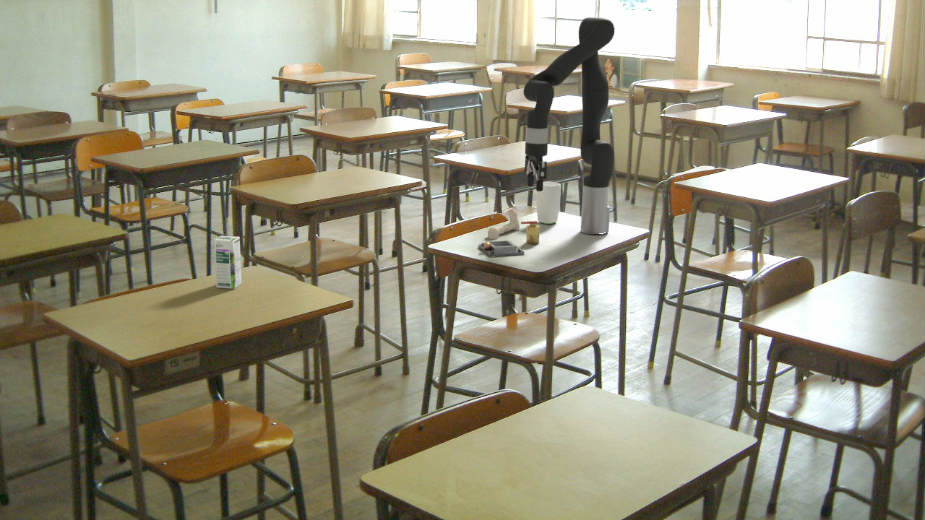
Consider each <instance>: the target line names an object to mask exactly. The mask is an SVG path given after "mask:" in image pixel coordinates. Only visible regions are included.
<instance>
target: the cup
mask: <svg viewBox="0 0 925 520" xmlns="http://www.w3.org/2000/svg"><path fill="white" fill-rule="evenodd" d="M561 191H562V184H561V183H558V182H554V181H548V180H547V181H543V191H536V214H537V222H539V223H541V224H543V225H551V224H556V223H557V222H558V218H559V212H560V205H561V193H562V192H561Z"/></svg>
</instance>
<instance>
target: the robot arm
mask: <svg viewBox="0 0 925 520" xmlns="http://www.w3.org/2000/svg"><path fill="white" fill-rule="evenodd" d="M578 27H579V28H578V44H577V45H575V46H574V47H572V48H570V49H568V50H566V51H564V52H563V53H561V54H560V55H558V56H557V58H555V59H554V60H553V61H552V62H551V63H550V64H549V65H548V66H547V68H546V69H544V70H542V71H540V72H539V73H537V74H536V75H534V76H533V77H532V78H530V79H529V80H528V81H527V82H526V83H525V85H524V87H523V97H524V98H525V99H526V100H527V101H529V102H535V106H534V108H532V109H530V110H528V111H527V115H526V116H527V117H526V130H525V143H524V155H525V156H524V158H525V159H524V172H525V174H526V177H527V178H526V186H527V187H533V186H534V185H535V191H536V192H537V191H543V182H544V181H545V180H546V179H547V169H548V163H547V161H545V160H543V159H544V157H546V156H547V155H548V149H549V143H548V142H549V131H548V130H549V129H548V127H549V126H548V125H549V114H550V112H551V108H552V105H553V101H554V98H555V97H554V96H555V91H554V87H557V86H558V87H559V85H561V84H562V83H563V82H564V81H565V80H566V79H567V78H568V77H569V76H570V75H571V74H572V73H573V72H574V71H575V70H576V69H577V68H578V67H579V66H581V102H582V103H581V104H582V106H581V107H582V109H581V111H582V113H581V114H582V117H581V118H582V120H581V121H582V124H581V125H582V126H581V136H580V137H581V140H580V157H581V160H582V161H583V163H585V164H587V165H589V166H591V167H590V172H589V174H588V175H585V176H584V177H583V179H582V180H583V182H582V201H581V202H582V203H581V216H580V218H581V219H580V232H581V234H582V233H583V234H586V235H590V234H599V233H604V232H610V231H609V229H610V213H611V207H610V206H609V194H610V193H609V192H610V181H611V180H612V176H613V171H614V170H613V169H614V162H615V152H614V147H613V145H612V144H611V143H609V142H608V141H603V140H601V123H602V120H603V117H604V115H605V113H606V111H607V109H608V105H609V100H610V99H609V98H610V93H609V92H610V91H609V89H610V88H609V86H610V85H609V81H608V78H607V75H606V73H605V71H604V69H603V67H602V65H601V62H600V59H599V51H600V50H601V49H603V48H605V46H607V45H609V43H610V42H611V41H612V39H613V38H614V37H615V32H616V31H615V25H614V23H613V22H612V21H611V20H610V19H608V18H606V17H605V18H604V17H591V16H590V17H589V16H588V17H586V18H583V20H581V22H580V23H579V26H578ZM535 178H536V183H534V180H535Z"/></svg>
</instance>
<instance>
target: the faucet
mask: <svg viewBox="0 0 925 520" xmlns="http://www.w3.org/2000/svg"><path fill="white" fill-rule="evenodd" d="M507 212H508V217H509V223H506V224H503V225H501V226H499V227H497V226H494V225H492V226H490V227H489V228H488V230H487V237H488V239H492V240H497V239H499V236H500V233H506V232H509V231H518V230H520V228H521V227H520V221H519V218H518V212H517V211H516V209H514V208H513V207H510V208H508V209H505V211H503V212H502V214H505V213H507Z"/></svg>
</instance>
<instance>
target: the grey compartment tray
mask: <svg viewBox="0 0 925 520" xmlns="http://www.w3.org/2000/svg"><path fill="white" fill-rule="evenodd" d="M478 247H479V250H480V251H482V252H483V251H484V252H485V254H486V255H487V256H488V257H489V256H490V258H492V257H491V256H496V257H508V256H507V255H511V256H521V255H523V256H524V255H525V251H524V250H523V249H522V248H520V247H519V246H517V245H516V244H515V243H513V242H512V241H510V240H508V239H506V240H502V239H501V240H491V241H490V240H487V241H486V242H482V243H480V244H478ZM478 247H477V248H478ZM484 252H483V253H484Z"/></svg>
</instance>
